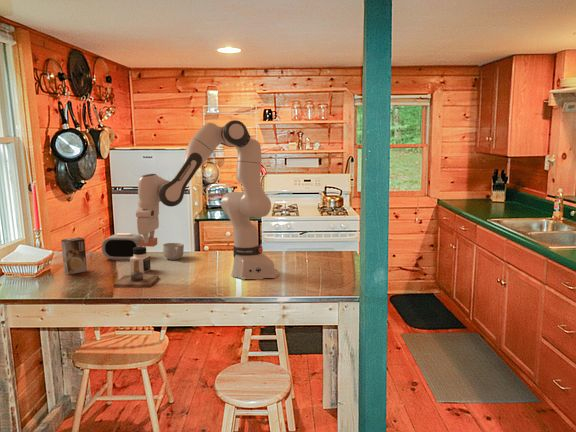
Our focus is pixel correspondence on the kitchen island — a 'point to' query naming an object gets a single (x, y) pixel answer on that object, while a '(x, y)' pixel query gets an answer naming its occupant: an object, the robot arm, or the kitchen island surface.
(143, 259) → the medicine bottle
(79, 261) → the coffee box
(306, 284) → the kitchen island surface
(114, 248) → the alarm clock
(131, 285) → the toggle switch plate
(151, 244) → the ring
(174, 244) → the teacup
